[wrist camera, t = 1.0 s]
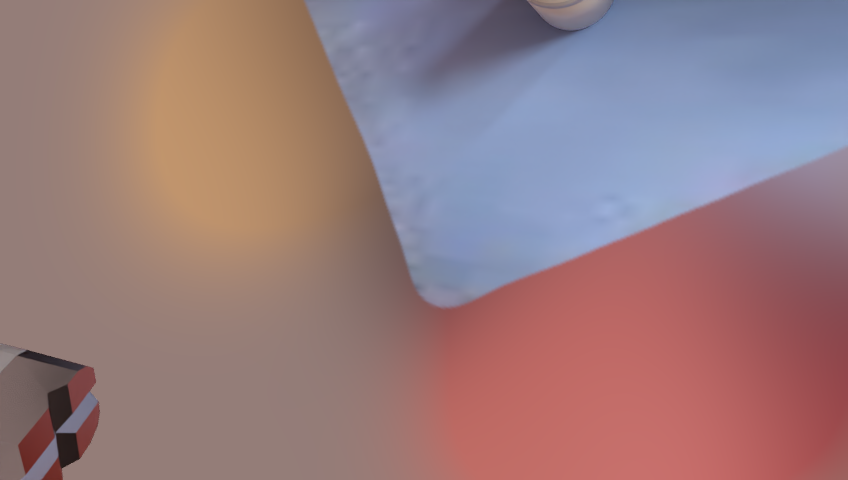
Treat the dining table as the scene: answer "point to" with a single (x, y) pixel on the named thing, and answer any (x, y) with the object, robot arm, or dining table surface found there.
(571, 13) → the white lidded bottle
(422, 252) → the dining table surface
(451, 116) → the dining table surface
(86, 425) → the robot arm
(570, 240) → the dining table surface
